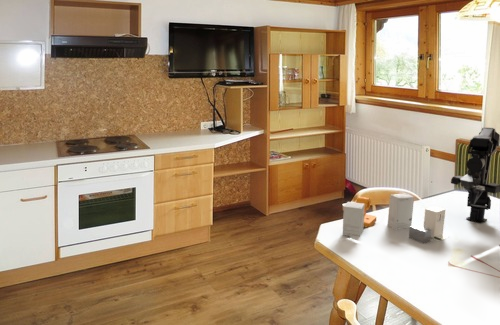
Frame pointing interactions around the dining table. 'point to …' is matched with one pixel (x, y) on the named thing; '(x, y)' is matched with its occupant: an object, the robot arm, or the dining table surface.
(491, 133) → the robot arm
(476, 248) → the dining table surface
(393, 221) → the skincare box
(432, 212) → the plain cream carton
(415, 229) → the dark gray block
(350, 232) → the supplement box
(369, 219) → the bracket
